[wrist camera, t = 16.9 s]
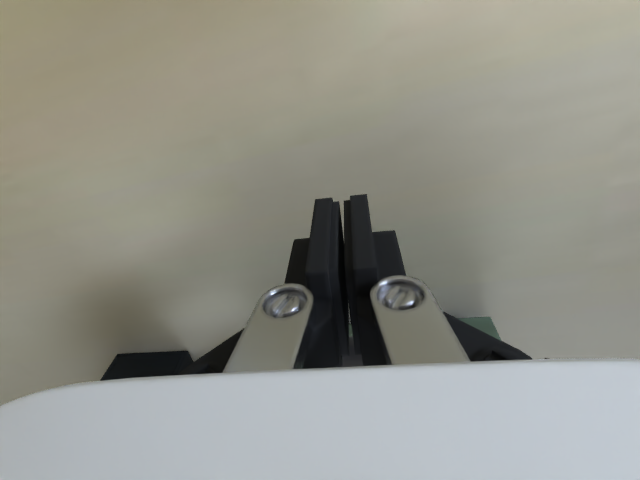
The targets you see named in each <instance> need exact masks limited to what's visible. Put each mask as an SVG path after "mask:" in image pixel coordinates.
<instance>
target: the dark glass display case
mask: <svg viewBox="0 0 640 480" xmlns="http://www.w3.org/2000/svg"><path fill="white" fill-rule="evenodd" d="M192 363H193V360H192V358H191V357H190V355H189V353H188V351H173V352H152V353H132V354H117V356H116V357H115V359H114V360H113V362H112V363H111V365H110V366H109V368H108V369H107V371H106V372H105V374H104V375H103V377H102V378H101V380H100V381H103V380H114V379H126V378H138V377H156V376H168V375H170V376H174V375H178V374H179V373H180V372H181V371H183V370H184V369H185V368H186V367H187V366H189V365H190V364H192Z"/></svg>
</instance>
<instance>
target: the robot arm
mask: <svg viewBox="0 0 640 480" xmlns="http://www.w3.org/2000/svg"><path fill="white" fill-rule="evenodd" d="M348 302H349V309H348ZM349 310H350V318H351V326H352V334H353V341H354V349H355V355H362V361H363V365H364V366H356V367H343V356H349ZM0 480H640V359H632V358H555V359H550V358H545V359H532V358H531V357H530V356H528V355H526V354H525V353H523V352H522V351H520V350H518V349H516V348H514V347H512V346H510V345H508V344H506V343H504V342H502V341H500V340H498V339H496V338H495V337H493V336H491V335H489V334H487V333H485V332H483V331H481V330H479V329H477V328H475V327H473V326H471V325H469V324H467V323H465V322H463V321H461V320H459V319H457V318H455V317H453V316H451V315H449V314H447V313H445V312H443V311H442V310H441V308H440V307H439V305H438V303H437V301H436V299H435V298H434V296H433V294H432V292H431V291H430V289H429V288H428V287H427V285H426V284H425V283H423V282H422V281H420V280H419V279H416V278H413V277H410V276H406V274H405V270H404V265H403V261H402V257H401V253H400V249H399V245H398V241H397V237H396V233H395V231H394V230H393V231H382V232H372V229H371V222H370V214H369V207H368V200H367V194H363V195H353V196H350V200H347V201H344V238H343V230H342V222H341V214H340V205H339V201H338V202H333V200H332V198H324V199H315V205H314V212H313V219H312V226H311V232H310V238H304V239H295V240H294V242H293V247H292V251H291V256H290V260H289V265H288V270H287V274H286V279H285V284H282V285H279V286H276V287H274V288H272V289H270V290H268V291H267V292H266V293H264V294H263V295H262V296H261V298H260V299H259V301H258V302H257V304H256V306H255V308H254V310H253V312H252V314H251V316H250V318H249V320H248V322H247V324H246V326H245V328H244V329H242V330H241V331H239V332H238V333H237V334H235V335H234V336H232V337H231V338H229V339H228V340H226V341H225V342H223V343H222V344H220V345H219V346H217V347H216V348H214V349H213V350H211V351H210V352H208V353H207V354H205V355H204V356H202V357H201V358H199V359H198V360H196V361H195V362H193V363H192V364H190V365H189V366H187V367H186V368H185V369H184V370H183V371H181V372H180V373H179V374H178V375H174V376H170V375H168V376H156V377H138V378H126V379H114V380H103V381H92V382H83V383H77V384H71V385H64V386H59V387H55V388H51V389H48V390H44V391H40V392H36V393H32V394H29V395H27V396H24V397H21V398H18V399H15V400H13V401H10V402H7V403H5V404H2V405H0Z"/></svg>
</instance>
